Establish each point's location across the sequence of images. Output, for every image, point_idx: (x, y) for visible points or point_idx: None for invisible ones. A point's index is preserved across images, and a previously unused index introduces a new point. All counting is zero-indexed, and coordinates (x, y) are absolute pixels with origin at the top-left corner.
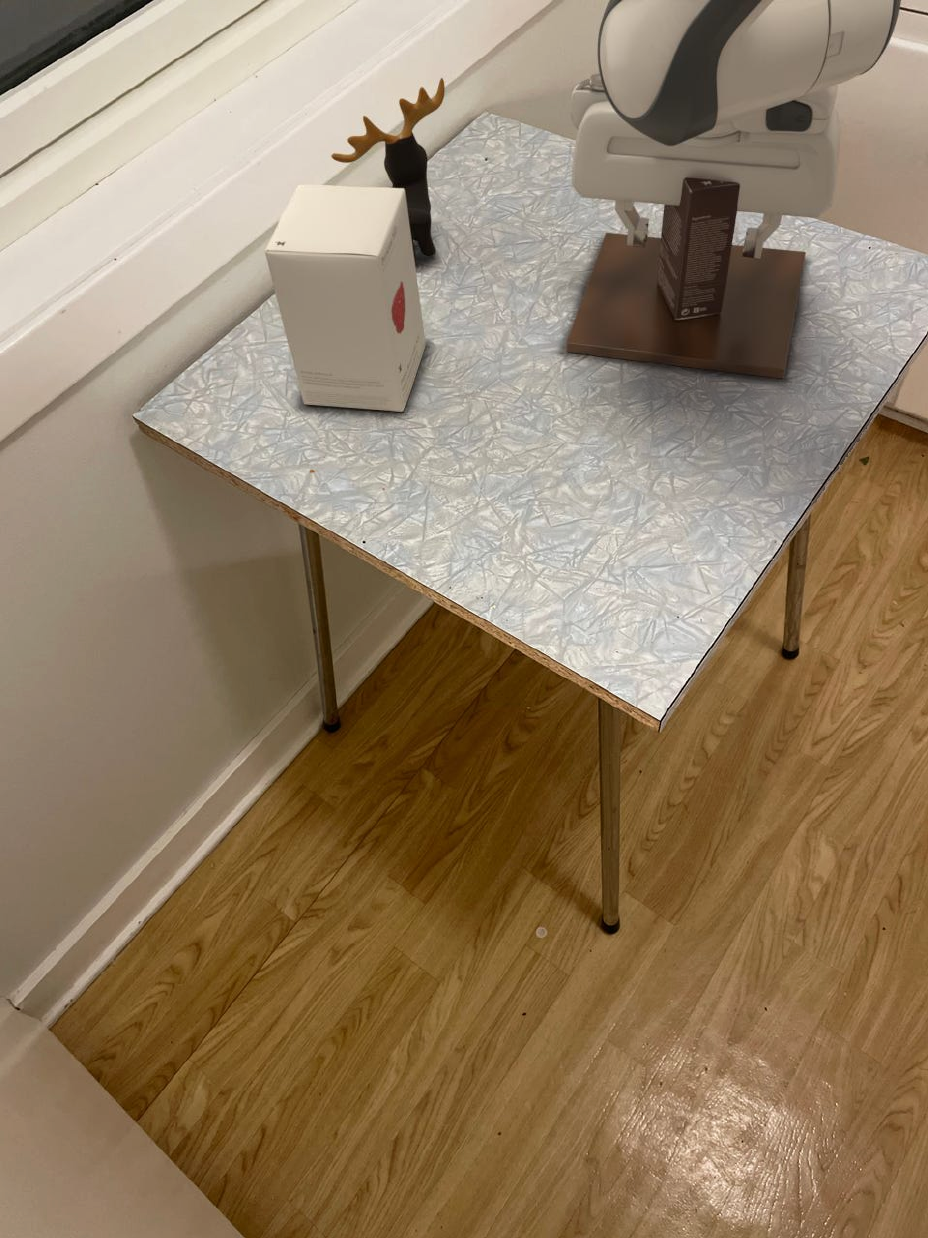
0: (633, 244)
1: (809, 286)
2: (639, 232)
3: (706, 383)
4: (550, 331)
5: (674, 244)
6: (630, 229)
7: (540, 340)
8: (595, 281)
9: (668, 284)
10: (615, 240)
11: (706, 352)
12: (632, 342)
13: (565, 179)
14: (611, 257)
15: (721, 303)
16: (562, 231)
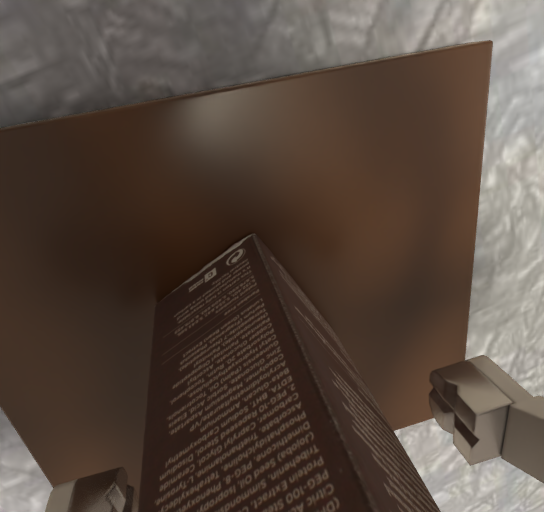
0: (470, 362)
1: (34, 464)
2: (488, 401)
3: (72, 46)
4: (514, 109)
5: (357, 406)
6: (525, 397)
7: (533, 66)
8: (458, 283)
9: (310, 309)
10: None
11: (117, 144)
12: (329, 107)
13: (526, 475)
14: (439, 358)
15: (156, 319)
16: (520, 384)
